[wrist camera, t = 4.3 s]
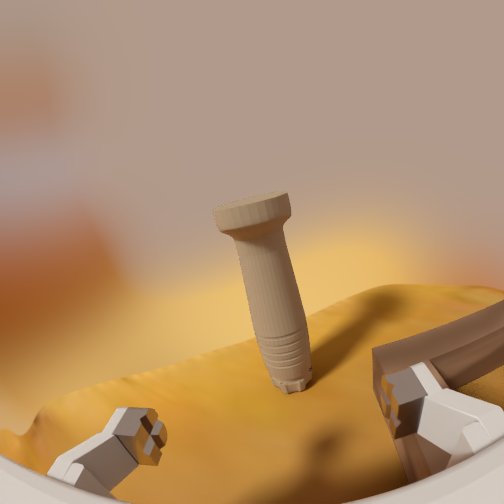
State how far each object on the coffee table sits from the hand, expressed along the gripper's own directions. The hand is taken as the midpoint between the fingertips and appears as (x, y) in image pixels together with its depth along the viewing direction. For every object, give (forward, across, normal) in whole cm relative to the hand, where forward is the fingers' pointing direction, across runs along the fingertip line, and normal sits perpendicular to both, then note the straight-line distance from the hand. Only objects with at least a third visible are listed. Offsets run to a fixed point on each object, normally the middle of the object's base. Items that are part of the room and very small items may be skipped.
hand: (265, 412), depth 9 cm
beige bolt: (+12, 0, -9) cm, 15 cm away
